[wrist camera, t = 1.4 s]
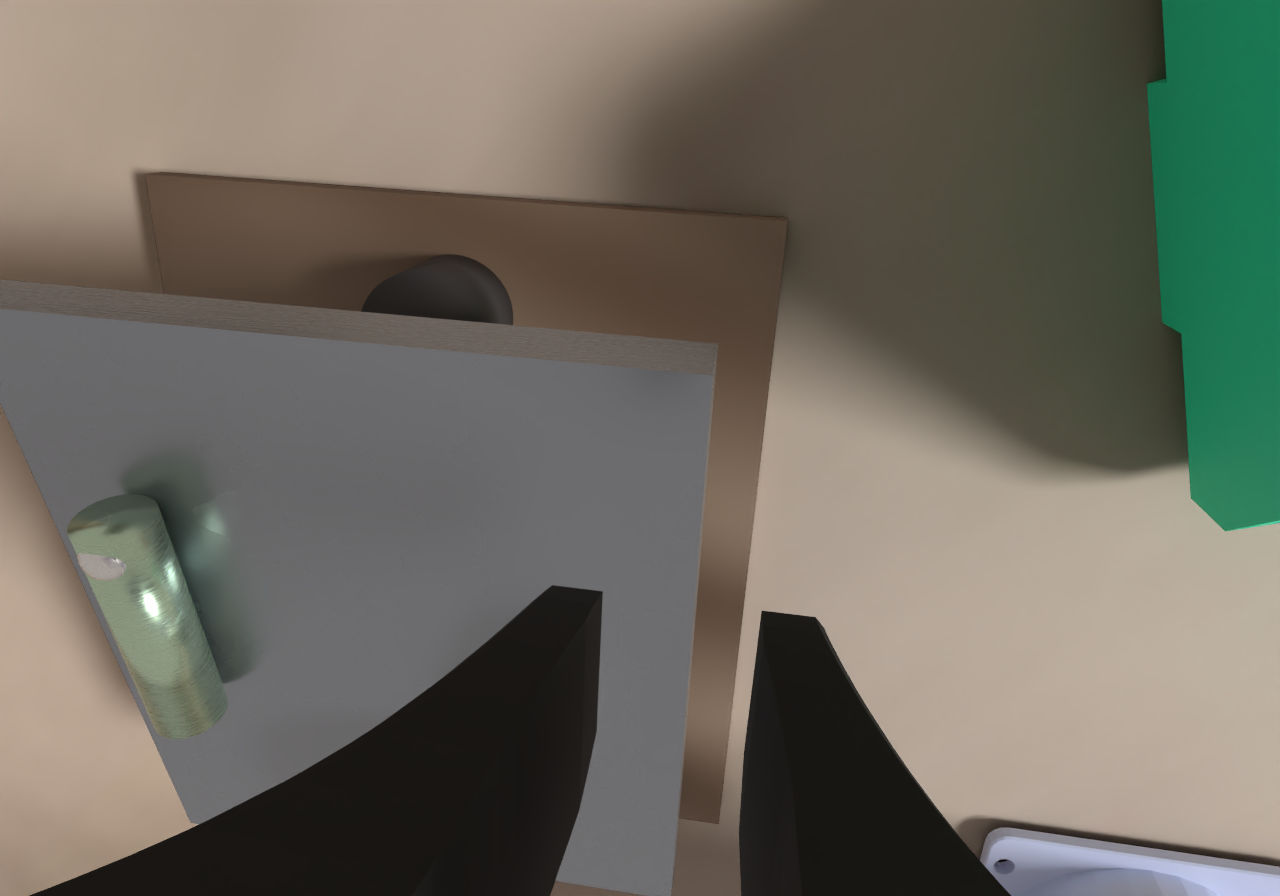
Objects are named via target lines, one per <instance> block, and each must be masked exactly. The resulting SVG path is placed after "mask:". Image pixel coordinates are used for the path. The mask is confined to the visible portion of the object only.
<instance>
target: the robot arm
mask: <svg viewBox="0 0 1280 896" xmlns="http://www.w3.org/2000/svg"><path fill="white" fill-rule="evenodd" d="M602 598H603V591H596V590H588V589H580V588H571V587H563V586H555V585H552V586H551V587H549V588H548V589H547V590H545V591H544V592H543V593H542V594H540V595H539V596H538V597H537V598H536V599H535V600H533V601H532V602H531V603H530V604H529V605H528V606H527V607H526V608H524V609H523V610H522V611H521V612H520V613H519V614H518V615H517V616H515V617H514V618H513V619H512V620H511V621H510V622H509V623H508V624H506V625H505V626H504V627H503V628H502V629H501V630H499V631H498V632H497V633H496V634H495V635H494V636H493V637H491V638H490V639H489V640H488V641H487V642H486V643H484V644H483V645H482V646H481V647H479V648H478V649H477V650H476V651H475V652H473V653H472V654H471V655H470V656H468V657H467V658H466V659H465V660H464V661H462V662H461V663H460V664H459V665H457V666H456V667H455V668H454V669H453V670H451V671H450V672H449V673H448V674H446V675H445V676H444V677H443V678H441V679H440V680H439V681H438V682H436V683H435V684H434V685H432V686H431V687H430V688H428V689H427V690H425V691H424V692H423V693H421V694H420V695H419V696H417V697H416V698H415V699H413V700H412V701H410V702H409V703H408V704H406V705H405V706H404V707H402V708H401V709H399V710H398V711H397V712H395V713H394V714H393V715H391V716H390V717H388V718H387V719H386V720H384V721H383V722H381V723H380V724H379V725H377V726H376V727H374V728H373V729H371V730H370V731H368V732H367V733H365V734H363V735H362V736H360V737H359V738H357V739H356V740H354V741H352V742H351V743H349V744H348V745H346V746H344V747H343V748H341V749H339V750H338V751H336V752H334V753H333V754H331V755H329V756H328V757H326V758H324V759H323V760H321V761H319V762H317V763H316V764H314V765H312V766H311V767H309V768H307V769H306V770H304V771H302V772H300V773H299V774H297V775H295V776H293V777H291V778H290V779H288V780H286V781H284V782H282V783H280V784H278V785H276V786H274V787H272V788H270V789H268V790H266V791H264V792H262V793H260V794H258V795H256V796H254V797H252V798H251V799H249V800H247V801H245V802H243V803H241V804H239V805H237V806H235V807H233V808H231V809H229V810H227V811H225V812H223V813H221V814H219V815H217V816H215V817H213V818H211V819H209V820H207V821H205V822H203V823H201V824H199V825H197V826H195V827H193V828H191V829H189V830H187V831H184V832H182V833H180V834H178V835H175V836H173V837H171V838H169V839H166V840H164V841H162V842H160V843H157V844H155V845H153V846H151V847H148V848H146V849H144V850H142V851H139V852H137V853H135V854H132V855H130V856H128V857H125V858H123V859H120V860H118V861H115V862H113V863H111V864H108V865H106V866H103V867H101V868H98V869H96V870H93V871H91V872H89V873H86V874H84V875H81V876H79V877H76V878H74V879H71V880H69V881H66V882H64V883H61V884H58V885H56V886H53V887H51V888H48V889H45V890H43V891H40V892H38V893H35V894H32V895H30V896H550V894H551V891H552V889H553V886H554V883H555V880H556V877H557V874H558V871H559V868H560V865H561V863H562V860H563V857H564V854H565V851H566V848H567V845H568V842H569V839H570V836H571V833H572V830H573V828H574V825H575V822H576V819H577V816H578V813H579V810H580V805H581V801H582V796H583V792H584V788H585V783H586V779H587V774H588V770H589V765H590V760H591V756H592V751H593V746H594V742H595V737H596V732H597V713H598V690H599V667H600V644H601V621H602ZM739 846H740V871H741V895H742V896H1280V867H1278V866H1271V865H1264V864H1257V863H1250V862H1244V861H1237V860H1230V859H1223V858H1216V857H1209V856H1202V855H1195V854H1188V853H1181V852H1174V851H1168V850H1161V849H1154V848H1147V847H1140V846H1133V845H1126V844H1119V843H1112V842H1105V841H1098V840H1092V839H1085V838H1078V837H1071V836H1064V835H1057V834H1050V833H1043V832H1036V831H1029V830H1022V829H1016V828H998V829H995V830H993V831H992V832H990V833H989V834H988V836H987V837H986V839H985V843H984V847H983V850H982V854H981V858H980V860H979V859H978V858H977V857H976V856H975V854H974V853H973V852H972V851H971V850H970V849H969V847H968V846H967V845H966V844H965V843H964V841H963V840H962V839H961V838H960V837H959V835H958V834H957V833H956V832H955V830H954V829H953V828H952V827H951V825H950V824H949V823H948V822H947V820H946V819H945V818H944V817H943V815H942V814H941V813H940V812H939V810H938V809H937V808H936V806H935V805H934V804H933V802H932V801H931V800H930V798H929V797H928V796H927V794H926V793H925V792H924V790H923V789H922V788H921V786H920V785H919V783H918V782H917V781H916V779H915V778H914V777H913V775H912V774H911V773H910V771H909V770H908V768H907V767H906V766H905V764H904V763H903V761H902V760H901V758H900V757H899V755H898V754H897V753H896V751H895V750H894V748H893V747H892V745H891V744H890V742H889V741H888V739H887V737H886V736H885V734H884V733H883V731H882V730H881V728H880V727H879V725H878V724H877V722H876V720H875V719H874V717H873V716H872V714H871V713H870V711H869V710H868V708H867V706H866V705H865V703H864V701H863V700H862V698H861V696H860V695H859V693H858V691H857V690H856V688H855V686H854V684H853V683H852V681H851V679H850V677H849V676H848V674H847V672H846V670H845V669H844V667H843V665H842V663H841V661H840V659H839V658H838V656H837V654H836V652H835V650H834V648H833V646H832V644H831V642H830V640H829V638H828V636H827V634H826V632H825V629H824V627H823V626H822V625H821V624H820V622H819V621H818V620H817V619H816V617H809V616H801V615H792V614H784V613H776V612H768V611H762V614H761V622H760V630H759V638H758V646H757V654H756V662H755V670H754V678H753V686H752V694H751V702H750V710H749V718H748V726H747V734H746V742H745V750H744V763H743V778H742V793H741V810H740V826H739ZM1001 859H1008V860H1007V861H1005V862H997V861H998V860H1001Z"/></svg>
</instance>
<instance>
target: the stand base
mask: <svg viewBox="0 0 1280 896" xmlns="http://www.w3.org/2000/svg"><path fill="white" fill-rule="evenodd" d="M145 176H146V182H147V189H148V195H149V202H150V208H151V215H152V221H153V228H154V234H155V241H156V247H157V254H158V260H159V266H160V273H161V279H162V286H163V292H164V294H169V295H181V296H192V297H203V298H214V299H225V300H237V301H248V302H259V303H270V304H281V305H292V306H304V307H315V308H326V309H337V310H348V311H360V312H371V313H382V314H393V315H404V316H415V317H427V318H438V319H449V320H460V321H471V322H483V323H494V324H505V325H516V326H527V327H538V328H550V329H561V330H572V331H583V332H594V333H606V334H617V335H628V336H639V337H650V338H661V339H673V340H684V341H695V342H706V343H717V344H718V351H717V363H716V375H715V387H714V399H713V411H712V424H711V436H710V448H709V460H708V472H707V484H706V496H705V509H704V521H703V533H702V545H701V557H700V569H699V581H698V594H697V606H696V618H695V630H694V642H693V654H692V666H691V679H690V691H689V703H688V715H687V727H686V739H685V751H684V764H683V776H682V788H681V800H680V812H679V818H681V819H688V820H695V821H701V822H708V823H715V824H719V815H720V807H721V798H722V789H723V781H724V772H725V763H726V755H727V746H728V737H729V729H730V720H731V711H732V703H733V694H734V685H735V677H736V668H737V659H738V651H739V642H740V633H741V625H742V616H743V607H744V599H745V590H746V581H747V573H748V564H749V555H750V547H751V538H752V529H753V521H754V512H755V503H756V495H757V486H758V477H759V469H760V460H761V451H762V443H763V434H764V425H765V417H766V408H767V399H768V391H769V382H770V373H771V365H772V356H773V347H774V339H775V330H776V321H777V313H778V304H779V295H780V287H781V278H782V269H783V261H784V252H785V243H786V235H787V226H788V218H782V217H768V216H755V215H741V214H727V213H713V212H700V211H686V210H672V209H659V208H645V207H631V206H618V205H604V204H590V203H577V202H563V201H549V200H536V199H522V198H508V197H495V196H481V195H467V194H454V193H440V192H426V191H412V190H399V189H385V188H371V187H358V186H344V185H330V184H317V183H303V182H289V181H276V180H262V179H248V178H235V177H221V176H207V175H194V174H180V173H166V172H161V173H153V174H145Z"/></svg>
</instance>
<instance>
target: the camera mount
mask: <svg viewBox="0 0 1280 896" xmlns="http://www.w3.org/2000/svg"><path fill="white" fill-rule="evenodd" d="M1162 10H1163V27H1164V44H1165V62H1166V79H1163V80H1159V81H1155V82H1151V83H1147V95H1148V110H1149V126H1150V141H1151V157H1152V172H1153V187H1154V203H1155V218H1156V233H1157V249H1158V264H1159V280H1160V295H1161V310H1162V323H1164V324H1166V325H1167V326H1169V327H1171V328H1172V329H1174V330H1176V331H1178V332H1179V333H1181V337H1182V354H1183V371H1184V389H1185V406H1186V423H1187V440H1188V457H1189V475H1190V492H1191V499H1192V500H1193V501H1194V502H1196V503H1197V504H1198V505H1199V506H1200V507H1201V508H1202V509H1203V510H1204V511H1205V512H1206V513H1207V514H1208V515H1209V516H1210V517H1211V518H1212V519H1213V520H1214V521H1215V522H1216V523H1217V524H1218V525H1219V526H1220V527H1221V528H1222V529H1224V530H1225V531H1231V530H1237V529H1244V528H1250V527H1257V526H1263V525H1270V524H1276V523H1280V0H1162Z"/></svg>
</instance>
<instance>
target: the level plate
mask: <svg viewBox="0 0 1280 896" xmlns="http://www.w3.org/2000/svg"><path fill="white" fill-rule="evenodd" d="M717 351H718V344H717V343H706V342H695V341H684V340H673V339H661V338H650V337H639V336H628V335H617V334H606V333H594V332H583V331H572V330H561V329H550V328H538V327H527V326H516V325H505V324H494V323H483V322H471V321H460V320H449V319H438V318H427V317H415V316H404V315H393V314H382V313H371V312H360V311H348V310H337V309H326V308H315V307H304V306H292V305H281V304H270V303H259V302H248V301H237V300H225V299H214V298H203V297H192V296H181V295H169V294H158V293H147V292H136V291H125V290H114V289H102V288H91V287H80V286H69V285H58V284H46V283H35V282H24V281H13V280H1V281H0V404H1V406H2V408H3V410H4V412H5V415H6V417H7V419H8V421H9V423H10V426H11V428H12V430H13V432H14V434H15V437H16V439H17V441H18V443H19V445H20V448H21V450H22V452H23V454H24V456H25V459H26V461H27V463H28V465H29V467H30V470H31V472H32V474H33V476H34V478H35V481H36V483H37V485H38V487H39V490H40V492H41V494H42V496H43V498H44V501H45V503H46V505H47V507H48V509H49V512H50V514H51V516H52V518H53V520H54V523H55V525H56V527H57V529H58V531H59V534H60V536H61V538H62V540H63V542H64V545H65V547H66V549H67V551H68V553H69V556H70V558H71V560H72V562H73V564H74V567H75V569H76V571H77V573H78V575H79V578H80V580H81V582H82V584H83V586H84V589H85V591H86V593H87V595H88V597H89V600H90V602H91V604H92V606H93V608H94V611H95V613H96V615H97V617H98V620H99V622H100V624H101V626H102V628H103V631H104V633H105V635H106V637H107V639H108V642H109V644H110V646H111V648H112V650H113V653H114V655H115V657H116V659H117V661H118V664H119V666H120V668H121V670H122V672H123V675H124V677H125V679H126V681H127V683H128V686H129V688H130V690H131V692H132V694H133V697H134V699H135V701H136V703H137V705H138V708H139V710H140V712H141V714H142V716H143V719H144V721H145V723H146V725H147V727H148V730H149V732H150V734H151V736H152V738H153V741H154V743H155V745H156V747H157V750H158V752H159V754H160V756H161V758H162V761H163V763H164V765H165V767H166V769H167V772H168V774H169V776H170V778H171V780H172V783H173V785H174V787H175V789H176V791H177V794H178V796H179V798H180V800H181V802H182V805H183V807H184V809H185V811H186V813H187V816H188V818H189V820H190V822H191V823H195V824H201V823H203V822H205V821H207V820H209V819H211V818H213V817H215V816H217V815H219V814H221V813H223V812H225V811H227V810H229V809H231V808H233V807H235V806H237V805H239V804H241V803H243V802H245V801H247V800H249V799H251V798H252V797H254V796H256V795H258V794H260V793H262V792H264V791H266V790H268V789H270V788H272V787H274V786H276V785H278V784H280V783H282V782H284V781H286V780H288V779H290V778H291V777H293V776H295V775H297V774H299V773H300V772H302V771H304V770H306V769H307V768H309V767H311V766H312V765H314V764H316V763H317V762H319V761H321V760H323V759H324V758H326V757H328V756H329V755H331V754H333V753H334V752H336V751H338V750H339V749H341V748H343V747H344V746H346V745H348V744H349V743H351V742H352V741H354V740H356V739H357V738H359V737H360V736H362V735H363V734H365V733H367V732H368V731H370V730H371V729H373V728H374V727H376V726H377V725H379V724H380V723H381V722H383V721H384V720H386V719H387V718H388V717H390V716H391V715H393V714H394V713H395V712H397V711H398V710H399V709H401V708H402V707H404V706H405V705H406V704H408V703H409V702H410V701H412V700H413V699H415V698H416V697H417V696H419V695H420V694H421V693H423V692H424V691H425V690H427V689H428V688H430V687H431V686H432V685H434V684H435V683H436V682H438V681H439V680H440V679H441V678H443V677H444V676H445V675H446V674H448V673H449V672H450V671H451V670H453V669H454V668H455V667H456V666H457V665H459V664H460V663H461V662H462V661H464V660H465V659H466V658H467V657H468V656H470V655H471V654H472V653H473V652H475V651H476V650H477V649H478V648H479V647H481V646H482V645H483V644H484V643H486V642H487V641H488V640H489V639H490V638H491V637H493V636H494V635H495V634H496V633H497V632H498V631H499V630H501V629H502V628H503V627H504V626H505V625H506V624H508V623H509V622H510V621H511V620H512V619H513V618H514V617H515V616H517V615H518V614H519V613H520V612H521V611H522V610H523V609H524V608H526V607H527V606H528V605H529V604H530V603H531V602H532V601H533V600H535V599H536V598H537V597H538V596H539V595H540V594H542V593H543V592H544V591H545V590H547V589H548V588H549V587H551V586H552V585H555V586H563V587H571V588H580V589H588V590H596V591H603V598H602V621H601V644H600V667H599V690H598V713H597V732H596V737H595V742H594V746H593V751H592V756H591V760H590V765H589V770H588V774H587V779H586V783H585V788H584V792H583V796H582V801H581V805H580V810H579V813H578V816H577V819H576V822H575V825H574V828H573V830H572V833H571V836H570V839H569V842H568V845H567V848H566V851H565V854H564V857H563V860H562V863H561V865H560V868H559V871H558V874H557V877H556V880H555V881H558V882H564V883H570V884H576V885H583V886H589V887H595V888H601V889H608V890H614V891H620V892H626V893H633V894H639V895H645V896H671V893H672V885H673V877H674V868H675V860H676V849H677V836H678V824H679V812H680V800H681V788H682V776H683V764H684V751H685V739H686V727H687V715H688V703H689V691H690V679H691V666H692V654H693V642H694V630H695V618H696V606H697V594H698V581H699V569H700V557H701V545H702V533H703V521H704V509H705V496H706V484H707V472H708V460H709V448H710V436H711V424H712V411H713V399H714V387H715V375H716V363H717Z"/></svg>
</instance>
